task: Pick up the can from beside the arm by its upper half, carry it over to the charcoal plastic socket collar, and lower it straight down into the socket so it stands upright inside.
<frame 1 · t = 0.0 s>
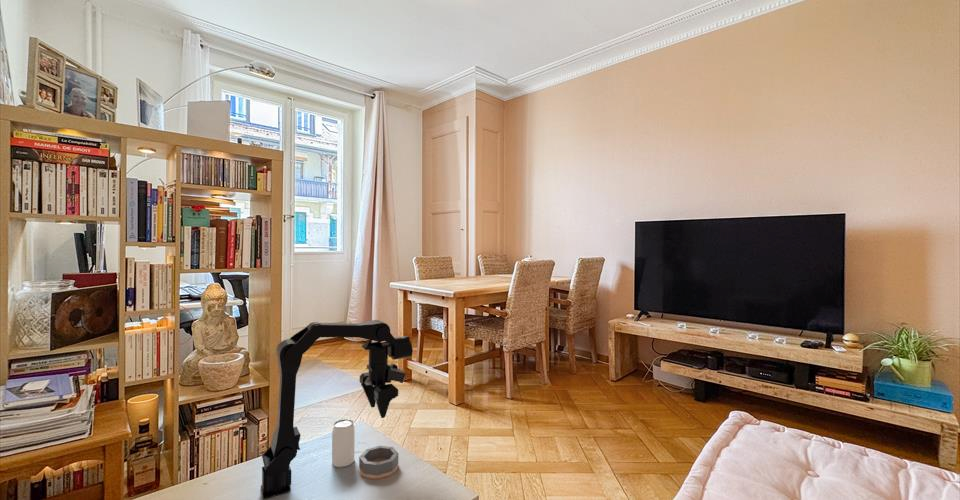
hand: (377, 412, 124), 15 cm above the table, tool pointing down, fingers open, 9 cm apart
socket: (378, 468, 119), on the table
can: (343, 463, 122), on the table
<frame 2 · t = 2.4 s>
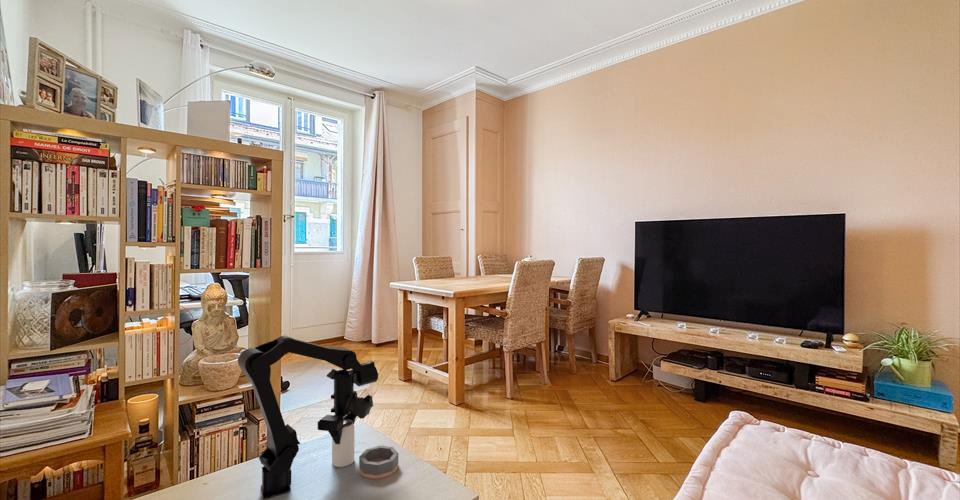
hand: (343, 440, 122), 7 cm above the table, tool pointing down, fingers closed on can, 5 cm apart
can: (343, 462, 122), on the table, touching gripper
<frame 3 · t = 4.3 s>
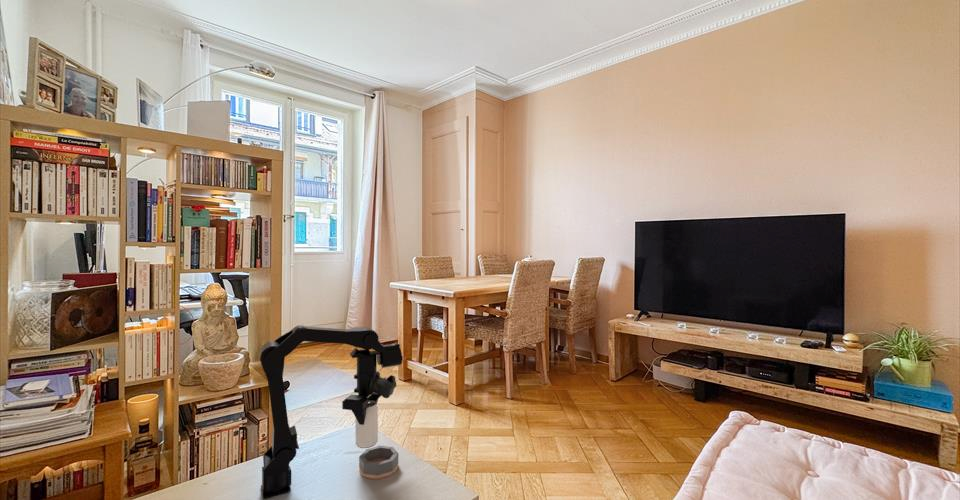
hand: (366, 421, 120), 13 cm above the table, tool pointing down, fingers closed on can, 5 cm apart
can: (366, 443, 120), point 7 cm above the table, touching gripper
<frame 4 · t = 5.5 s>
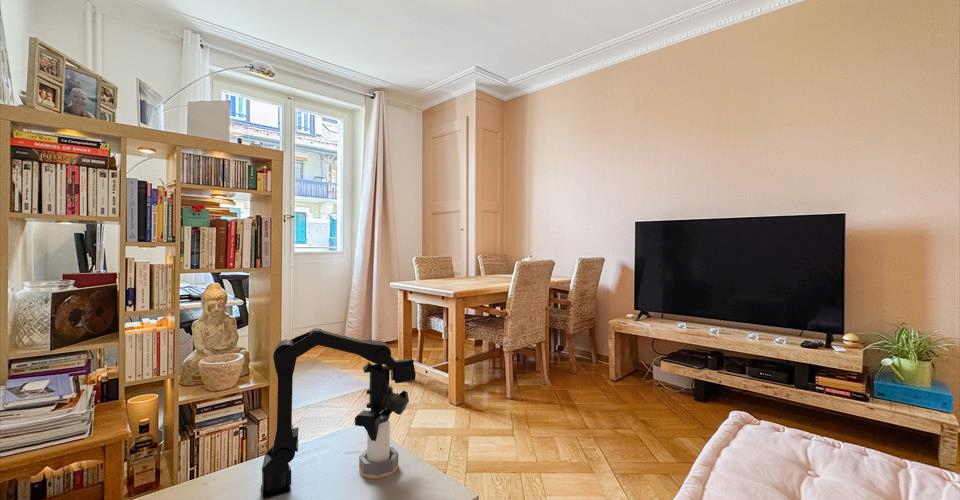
hand: (378, 437, 119), 9 cm above the table, tool pointing down, fingers closed on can, 5 cm apart
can: (378, 460, 119), point 2 cm above the table, touching gripper
when the fingers open (8 cm above the table, at t = 6.5 s): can stays where it is, resting on socket.
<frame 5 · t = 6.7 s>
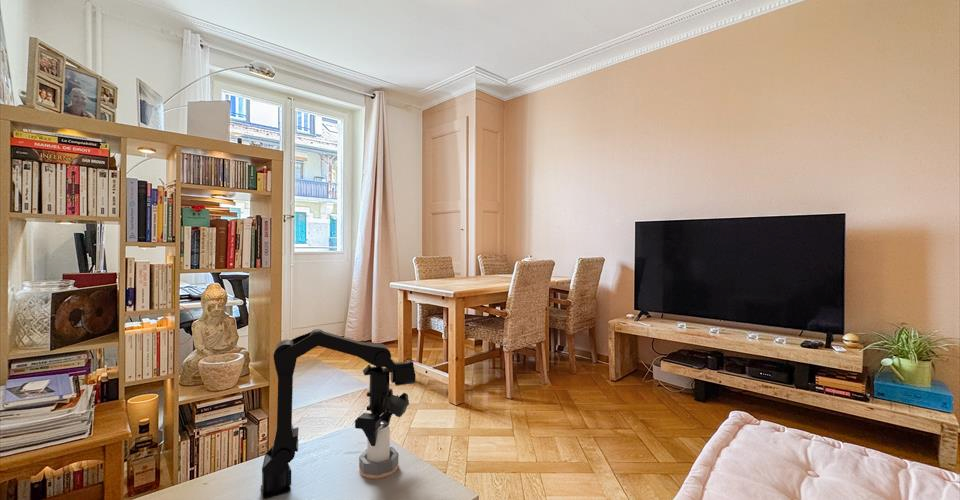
hand: (379, 439, 119), 8 cm above the table, tool pointing down, fingers open, 7 cm apart
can: (378, 465, 119), point 1 cm above the table, touching socket
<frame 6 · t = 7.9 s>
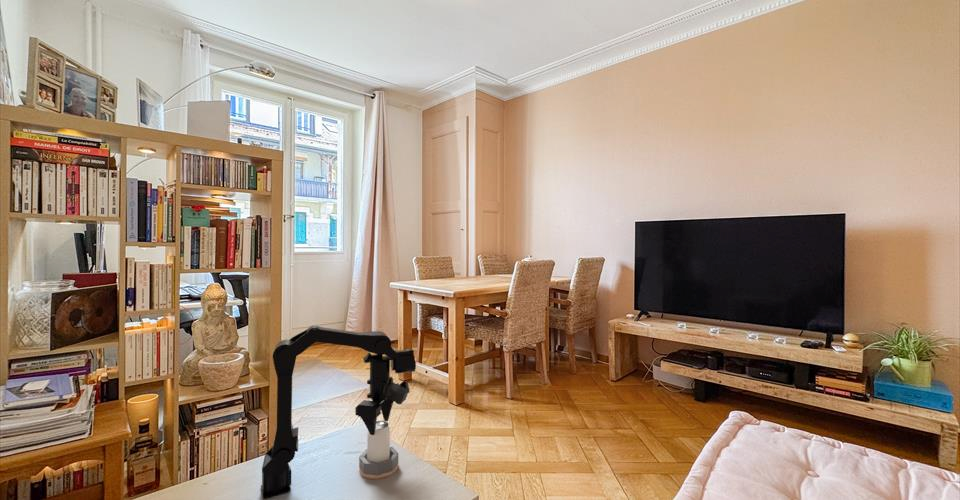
hand: (379, 427, 119), 12 cm above the table, tool pointing down, fingers open, 9 cm apart
nothing on the table moved.
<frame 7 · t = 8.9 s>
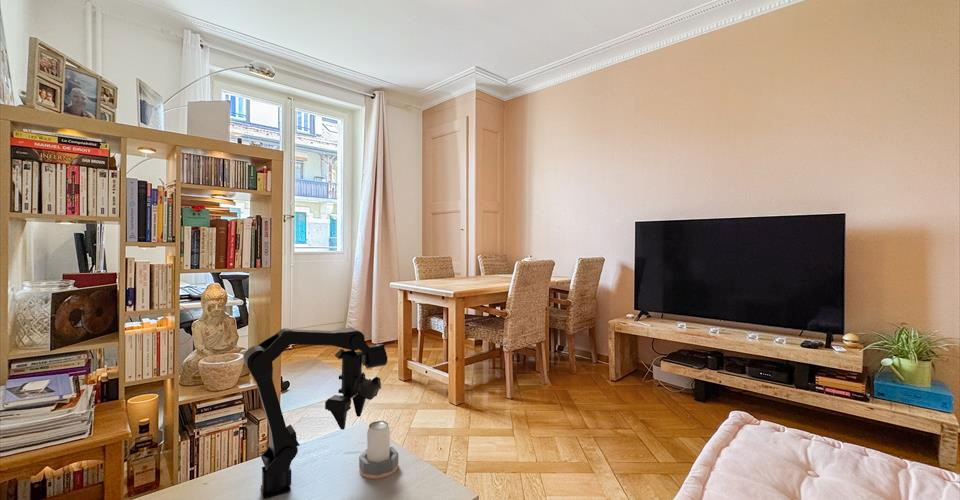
hand: (350, 422, 121), 13 cm above the table, tool pointing down, fingers open, 9 cm apart
nothing on the table moved.
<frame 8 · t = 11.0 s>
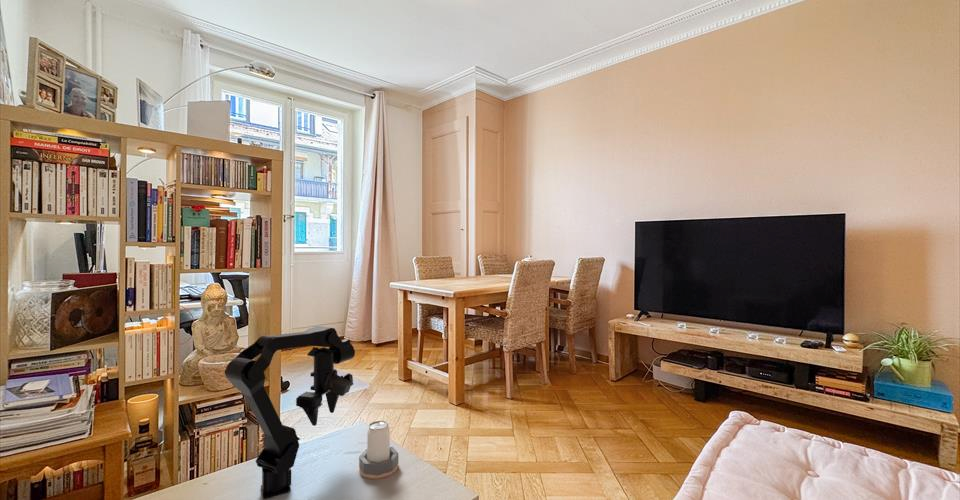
hand: (323, 418, 123), 13 cm above the table, tool pointing down, fingers open, 9 cm apart
nothing on the table moved.
at the end: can 0.2 cm off-centre on the socket, point 0.8 cm above the socket's base; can tilted 0°; the gripper is holding nothing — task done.
